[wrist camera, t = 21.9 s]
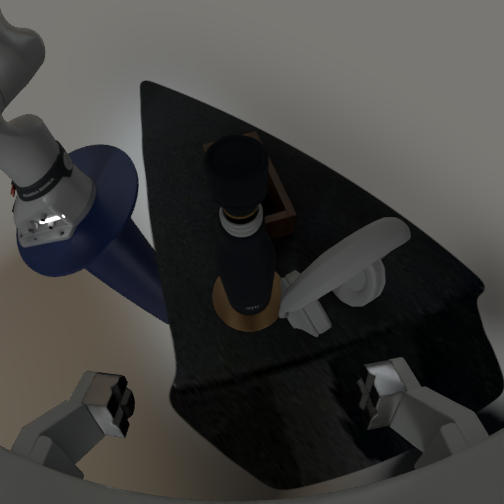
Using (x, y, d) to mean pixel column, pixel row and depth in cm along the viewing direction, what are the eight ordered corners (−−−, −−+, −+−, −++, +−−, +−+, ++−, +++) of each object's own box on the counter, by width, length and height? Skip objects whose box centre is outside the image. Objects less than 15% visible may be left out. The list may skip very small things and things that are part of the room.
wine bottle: (249, 266, 46) (238, 108, 19) (279, 294, 44) (312, 156, 17) (219, 294, 44) (161, 160, 17) (249, 324, 42) (233, 223, 15)
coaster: (224, 340, 42) (224, 340, 42) (204, 273, 46) (204, 272, 46) (296, 317, 43) (296, 317, 43) (271, 252, 47) (271, 252, 47)
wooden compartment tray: (234, 250, 48) (231, 233, 42) (207, 166, 55) (202, 144, 49) (292, 233, 49) (296, 214, 43) (256, 153, 56) (256, 131, 50)
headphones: (355, 245, 48) (403, 171, 29) (386, 290, 44) (453, 235, 26) (257, 301, 44) (258, 245, 26) (288, 354, 41) (314, 336, 23)
